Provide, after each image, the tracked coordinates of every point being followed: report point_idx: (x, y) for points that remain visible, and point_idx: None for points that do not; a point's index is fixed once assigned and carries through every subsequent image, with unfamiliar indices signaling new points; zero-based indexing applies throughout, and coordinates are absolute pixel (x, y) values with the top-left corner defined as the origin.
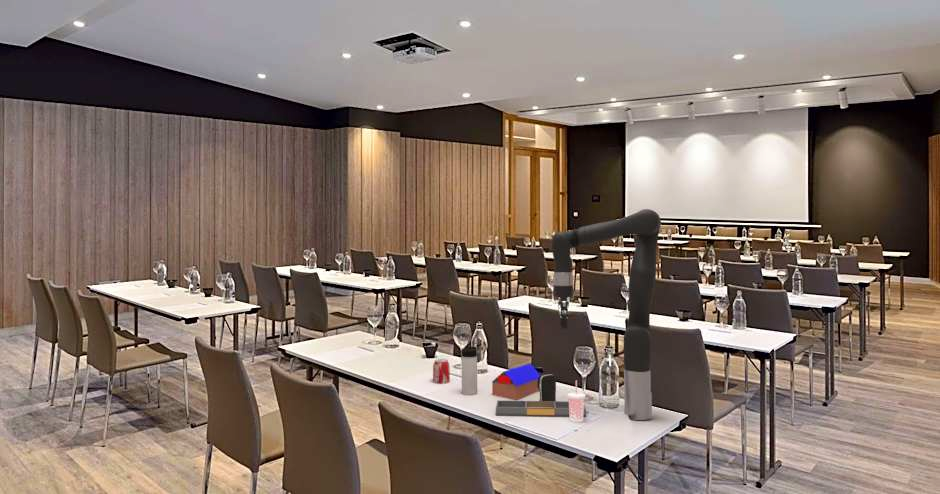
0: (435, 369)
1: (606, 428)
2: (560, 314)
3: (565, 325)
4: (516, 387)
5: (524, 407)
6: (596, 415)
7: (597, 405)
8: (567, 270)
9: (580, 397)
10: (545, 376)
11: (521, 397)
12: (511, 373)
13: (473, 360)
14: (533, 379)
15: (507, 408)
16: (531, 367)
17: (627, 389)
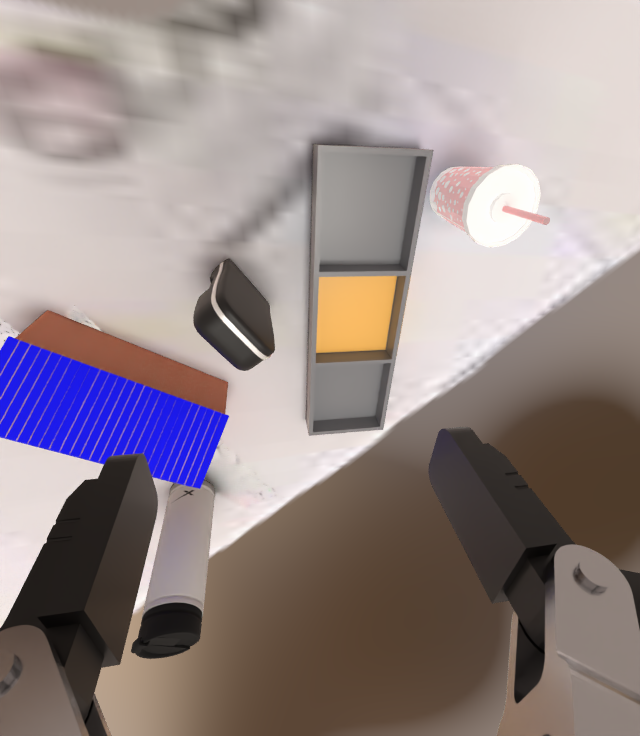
0: None
1: (571, 81)
2: (93, 703)
3: (506, 467)
4: (224, 412)
5: (392, 364)
6: (398, 93)
7: (225, 51)
8: None
9: (537, 191)
10: (264, 345)
11: (197, 376)
12: (174, 461)
13: (195, 591)
14: (95, 371)
15: (386, 403)
16: None
17: None
